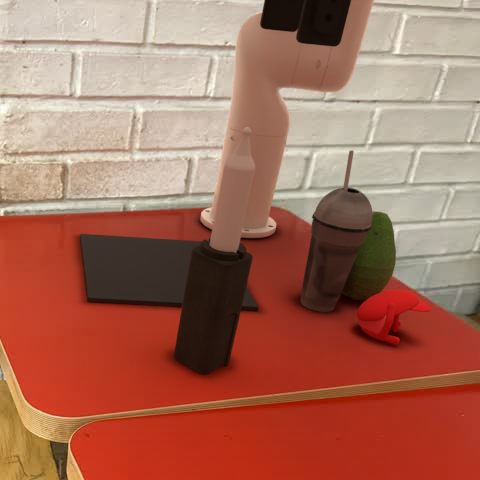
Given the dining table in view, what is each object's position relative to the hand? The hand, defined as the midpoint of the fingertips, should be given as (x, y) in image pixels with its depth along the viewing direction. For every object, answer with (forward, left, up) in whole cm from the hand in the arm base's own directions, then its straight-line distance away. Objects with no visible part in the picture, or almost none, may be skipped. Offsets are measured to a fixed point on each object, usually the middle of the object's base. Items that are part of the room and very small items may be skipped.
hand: (296, 36), depth 55 cm
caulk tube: (-6, -1, -34) cm, 34 cm away
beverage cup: (-22, +18, -34) cm, 44 cm away
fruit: (-25, +24, -34) cm, 48 cm away
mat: (-30, -2, -33) cm, 45 cm away
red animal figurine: (-14, +24, -34) cm, 44 cm away
